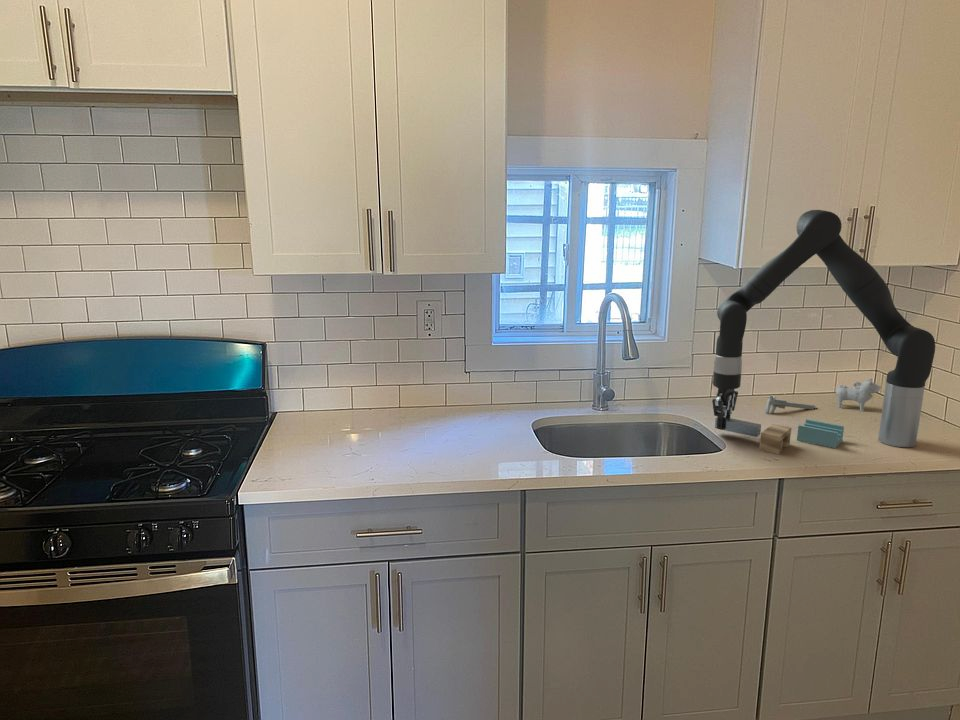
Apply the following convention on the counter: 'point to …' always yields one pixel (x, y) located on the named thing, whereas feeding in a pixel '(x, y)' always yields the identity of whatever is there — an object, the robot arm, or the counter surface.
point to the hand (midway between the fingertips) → (723, 427)
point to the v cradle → (820, 433)
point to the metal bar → (741, 427)
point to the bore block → (775, 438)
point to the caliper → (784, 404)
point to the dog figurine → (857, 393)
